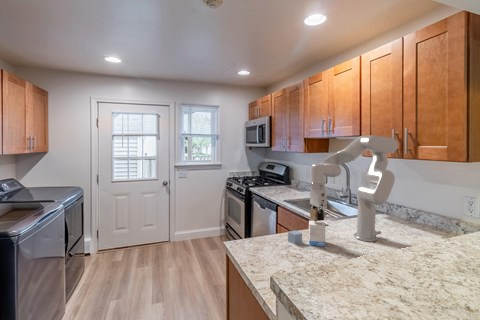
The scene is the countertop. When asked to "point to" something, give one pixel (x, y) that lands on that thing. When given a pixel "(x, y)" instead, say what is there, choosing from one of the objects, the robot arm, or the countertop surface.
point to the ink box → (317, 233)
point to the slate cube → (294, 237)
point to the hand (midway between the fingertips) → (317, 217)
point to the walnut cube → (315, 214)
